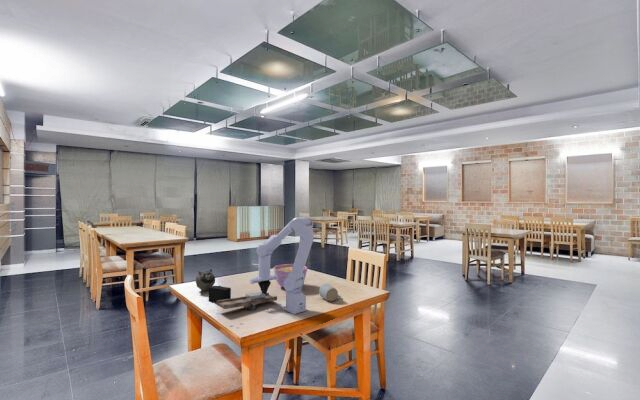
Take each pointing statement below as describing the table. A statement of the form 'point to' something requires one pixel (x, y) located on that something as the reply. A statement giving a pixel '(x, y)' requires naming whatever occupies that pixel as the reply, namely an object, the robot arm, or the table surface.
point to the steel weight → (254, 296)
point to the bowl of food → (284, 272)
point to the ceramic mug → (328, 292)
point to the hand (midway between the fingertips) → (264, 295)
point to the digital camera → (219, 293)
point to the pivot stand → (250, 307)
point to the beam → (243, 301)
